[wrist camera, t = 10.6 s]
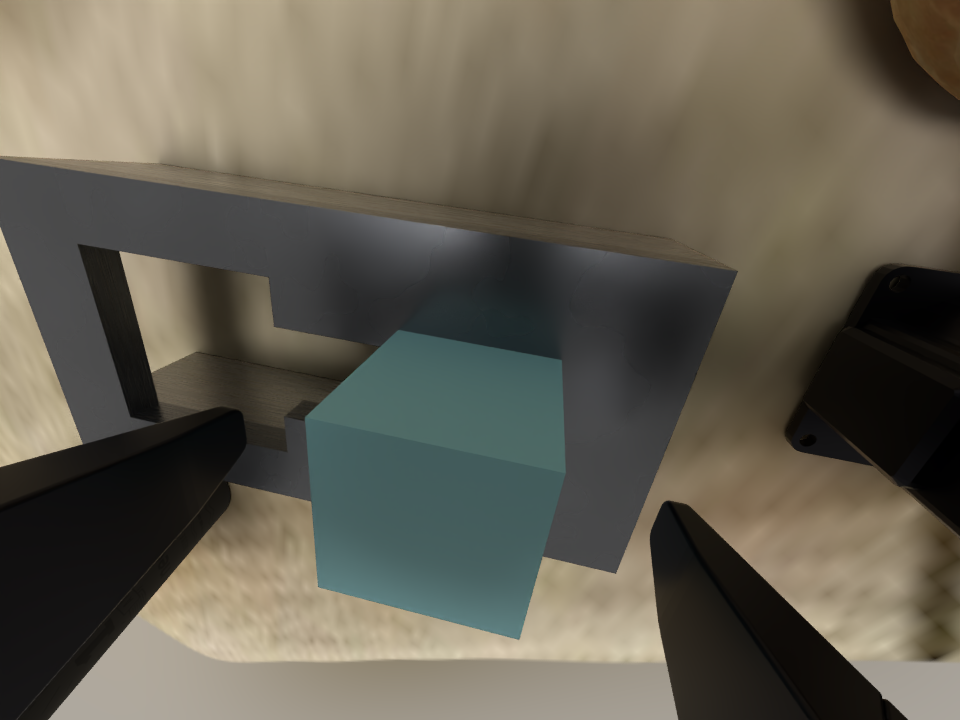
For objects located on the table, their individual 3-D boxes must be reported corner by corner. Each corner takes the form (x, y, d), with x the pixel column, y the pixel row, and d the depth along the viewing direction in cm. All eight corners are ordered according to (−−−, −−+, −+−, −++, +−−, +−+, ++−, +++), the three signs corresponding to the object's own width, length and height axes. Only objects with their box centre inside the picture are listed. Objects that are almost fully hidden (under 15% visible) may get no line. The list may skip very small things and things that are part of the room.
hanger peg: (567, 309, 12) (583, 464, 6) (541, 425, 14) (527, 649, 7) (432, 286, 13) (291, 403, 6) (424, 401, 15) (309, 591, 8)
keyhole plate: (671, 238, 12) (737, 271, 8) (598, 464, 16) (616, 573, 12) (157, 163, 14) (-28, 154, 10) (201, 381, 18) (84, 447, 14)
